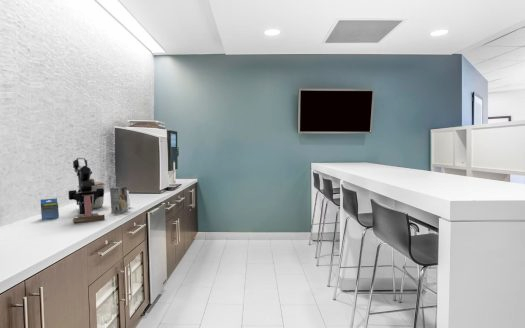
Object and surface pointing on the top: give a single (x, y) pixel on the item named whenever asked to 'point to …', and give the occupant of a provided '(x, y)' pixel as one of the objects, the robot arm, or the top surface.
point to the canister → (99, 200)
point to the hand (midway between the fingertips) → (88, 204)
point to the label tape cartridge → (49, 209)
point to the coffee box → (118, 199)
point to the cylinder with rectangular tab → (128, 199)
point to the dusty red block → (87, 206)
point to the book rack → (88, 218)
